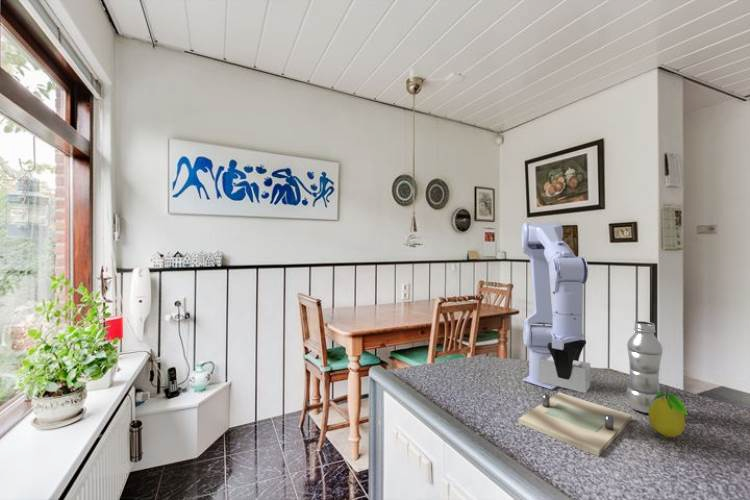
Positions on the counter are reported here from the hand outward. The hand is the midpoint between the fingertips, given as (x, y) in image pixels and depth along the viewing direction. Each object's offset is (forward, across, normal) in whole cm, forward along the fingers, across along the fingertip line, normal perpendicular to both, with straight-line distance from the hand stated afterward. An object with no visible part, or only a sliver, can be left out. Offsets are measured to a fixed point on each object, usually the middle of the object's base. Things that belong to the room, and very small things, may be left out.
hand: (566, 374), depth 76 cm
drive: (+2, 0, 0) cm, 2 cm away
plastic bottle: (+10, -16, +12) cm, 22 cm away
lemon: (+10, -5, +17) cm, 20 cm away
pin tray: (+10, 0, +2) cm, 10 cm away
